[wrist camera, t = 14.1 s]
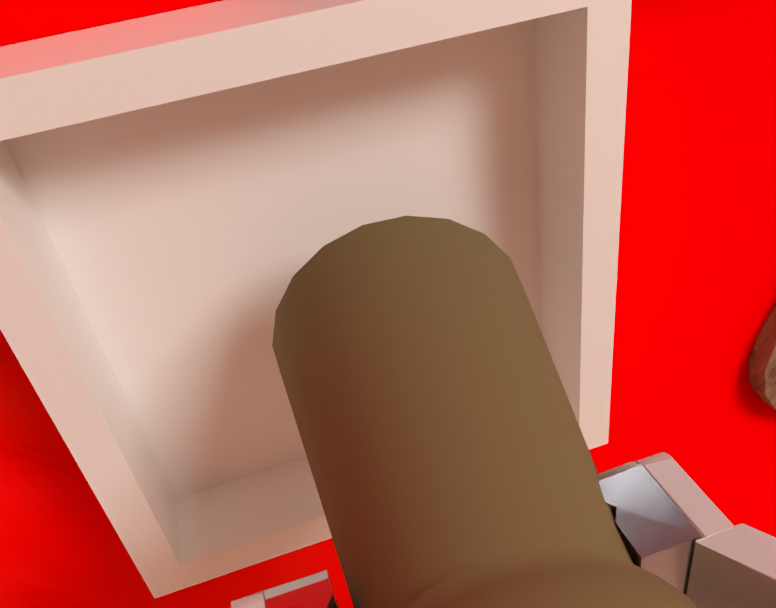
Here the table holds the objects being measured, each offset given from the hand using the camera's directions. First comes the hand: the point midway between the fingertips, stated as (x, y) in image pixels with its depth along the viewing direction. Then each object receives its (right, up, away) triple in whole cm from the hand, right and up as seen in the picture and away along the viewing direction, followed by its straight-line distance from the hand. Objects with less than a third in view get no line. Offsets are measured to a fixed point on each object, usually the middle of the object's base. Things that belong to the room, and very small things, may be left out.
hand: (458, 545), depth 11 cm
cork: (-1, +3, +5) cm, 6 cm away
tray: (-3, +5, +8) cm, 10 cm away
